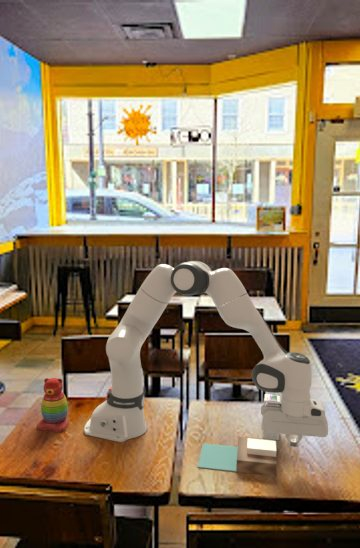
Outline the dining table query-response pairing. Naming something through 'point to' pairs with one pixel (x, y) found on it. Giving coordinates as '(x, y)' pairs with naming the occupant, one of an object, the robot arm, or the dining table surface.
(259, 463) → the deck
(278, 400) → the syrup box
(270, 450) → the cream rectangular block
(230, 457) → the mat
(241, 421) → the dining table surface
